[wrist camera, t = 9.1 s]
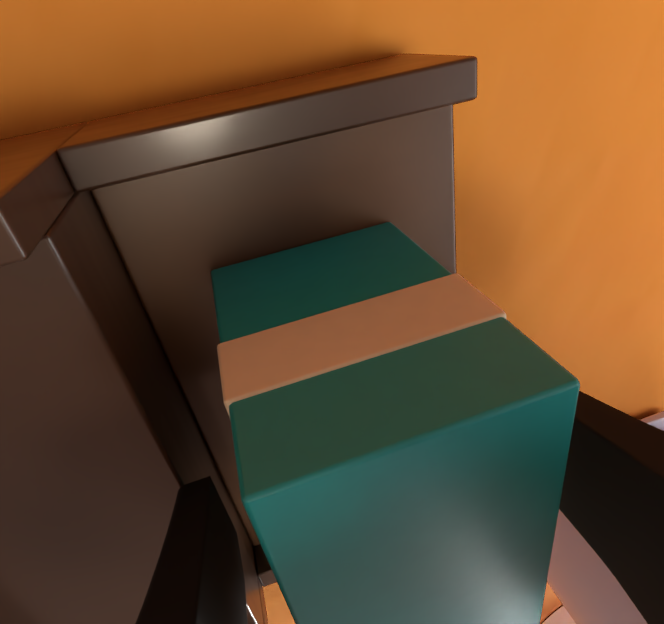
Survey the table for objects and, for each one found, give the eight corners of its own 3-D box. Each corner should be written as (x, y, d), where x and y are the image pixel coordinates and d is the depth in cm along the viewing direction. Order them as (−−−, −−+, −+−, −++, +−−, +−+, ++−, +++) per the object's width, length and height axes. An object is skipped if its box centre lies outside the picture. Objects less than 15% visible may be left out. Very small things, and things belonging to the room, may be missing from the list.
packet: (391, 217, 11) (587, 377, 6) (414, 441, 16) (538, 651, 10) (206, 268, 11) (235, 501, 5) (283, 487, 15) (342, 739, 10)
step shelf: (405, 52, 12) (655, 60, 6) (431, 438, 20) (548, 620, 13) (-256, 194, 10) (-1058, 470, 3) (70, 566, 17) (9, 856, 11)
